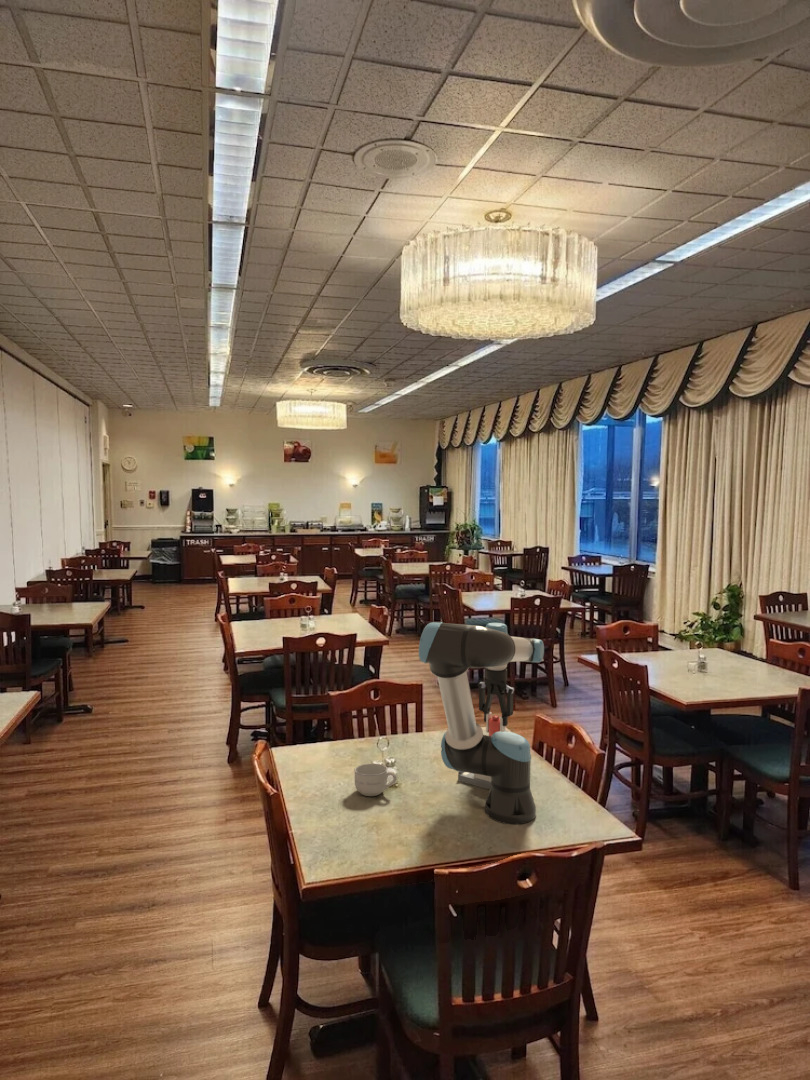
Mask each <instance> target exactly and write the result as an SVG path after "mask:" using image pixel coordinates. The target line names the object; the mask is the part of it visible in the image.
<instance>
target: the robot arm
mask: <svg viewBox="0 0 810 1080" xmlns="http://www.w3.org/2000/svg"><path fill="white" fill-rule="evenodd" d="M544 655H545V645H544V641H543V640H542V639H538V638H534V637H533V638H528V637H520V636H511V635H509V633H508V626H507V624H505V623H503V622H489V623H486V625H485V626H482V625H476V624H475V625H474V624H464V623H463V624H461V623H447V622H446V623H445V622H443V621H441V622H435V621H434V622H433V621H432V622H429V623H427V625H425V627H423V630H422V633H421V636H420V639H419V643H418V658H419V661H420V662H421V663H423V664H429V670H430V672H431V674H433V676H435V677H437V682H438V686H439V691H440V692H439V693H440V697H441V701H442V705H443V709H444V713H445V714H444V716H445V719H446V724H447V729H446V731H444V734H443V735H442V739H441V743H440V748H441V750H440V754H441V756H440V757H441V759H442V763H443V764H444V766H445V767H447V769H450V770H453V771H456V772H459V771H462V772H468V773H474V774H480V775H486V776H490V777H491V788H490V789H489V791H488V795H487V797H486V800H485V805H484V806H485V807H484V811H485V812H484V813H485V814H486V816H487V817H489V818H490V819H491V820H493V821H496V822H499V823H502V824H507V825H521V824H526V823H529V822H531V821H533V820H534V819H535V818H536V816H537V815H536V813H537V806H536V803H535V800H534V797H533V794H532V791H531V765H532V762H531V761H532V754H531V744H530V742H529V740H527V738H526V737H524V736H522V735H520V734H519V733H515V732H512V731H506V727H507V726H508V724H509V723H508V719H509V717H511V716H513V715H514V693H515V690H516V688H515V687H511V686H509V684H508V682H507V680H508V669H507V667H508V664H509V663H511V662H513V663H514V662H525V663H541V662H542V661H543V659H544ZM469 669H484V670H485V671H484V673H485V675H484V677H485V680H484V681H480V682H479V683H477V687H478V710H479V711H480V712H483V722H484V723H485V733H487V734H489V719H490V718H492V716H493V713H492V712H491V706H492V703H493V699H494V695H496V696H497V699H498V702H499V703H498V704H499V708H500V713H501V716H499V718H500V731H499V732H495V733H493V735H492V736H489V735H487V734H486V735H485V734H484V731H483V728H482V727H481V726H480V724H478V723H477V720H476V715H475V714H476V713H475V710H474V704H473V700H472V693H471V687H470V683H469V677H468V670H469ZM486 689H487V692H486ZM505 693H507V694H505Z"/></svg>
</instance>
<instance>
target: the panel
mask: <svg viewBox="0 0 810 1080" xmlns="http://www.w3.org/2000/svg"><path fill="white" fill-rule="evenodd" d="M457 773H458V774H457V781H459V782H462V783H465V784H468V785H469V784H470V785H473V786H475V787H476V786H477V787H479V788H483V789H486V790H490V788H491V782H489V781H485V780H482V779H478V778H475V777H474V773H468V772H462V771H457Z"/></svg>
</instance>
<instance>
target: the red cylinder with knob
mask: <svg viewBox="0 0 810 1080" xmlns="http://www.w3.org/2000/svg"><path fill="white" fill-rule="evenodd" d="M499 731H500V716H499V715H492V718H490V719H489V732H488V736H492V735H493V733H495V732H499Z"/></svg>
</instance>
